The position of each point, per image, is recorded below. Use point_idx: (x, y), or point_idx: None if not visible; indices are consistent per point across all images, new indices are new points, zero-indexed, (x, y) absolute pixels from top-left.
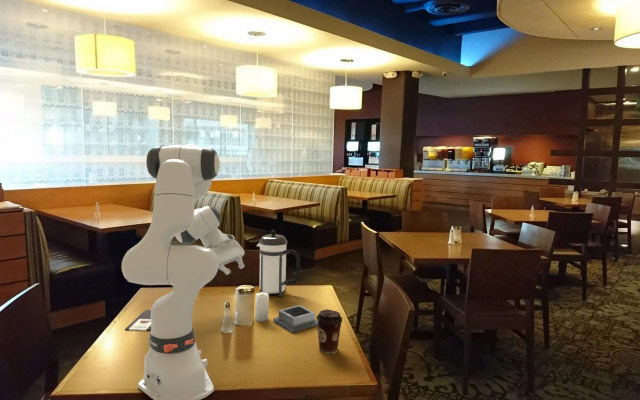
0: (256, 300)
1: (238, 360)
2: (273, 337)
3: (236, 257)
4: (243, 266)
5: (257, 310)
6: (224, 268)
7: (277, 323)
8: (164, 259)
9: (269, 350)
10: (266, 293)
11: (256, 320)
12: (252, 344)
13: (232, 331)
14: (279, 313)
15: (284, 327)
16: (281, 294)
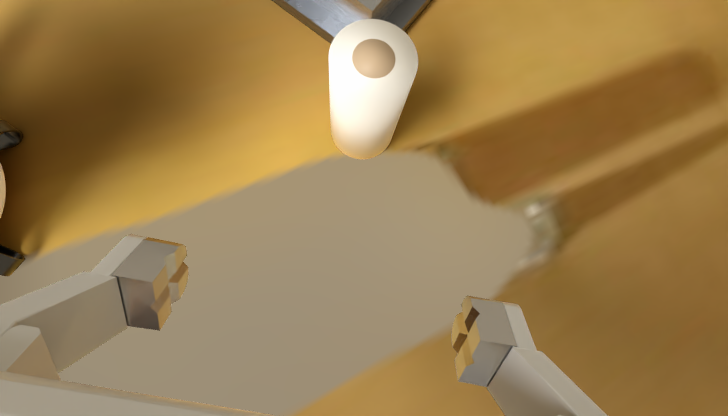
0: (402, 102)
1: (724, 83)
2: (518, 26)
3: (80, 390)
4: (161, 241)
5: (398, 119)
6: (559, 380)
7: None
8: None
9: (617, 10)
10: (342, 39)
11: (387, 146)
12: (603, 80)
13: (533, 203)
14: (375, 16)
15: (425, 6)
16: (4, 124)
